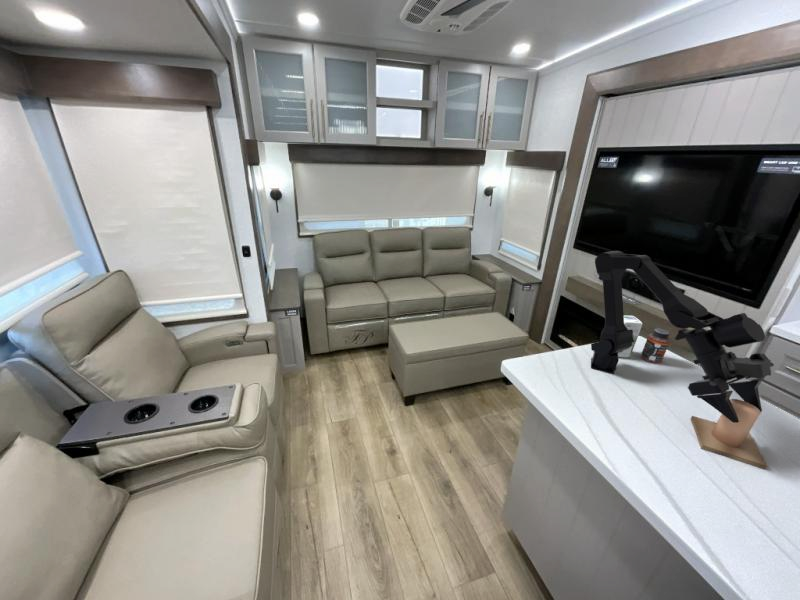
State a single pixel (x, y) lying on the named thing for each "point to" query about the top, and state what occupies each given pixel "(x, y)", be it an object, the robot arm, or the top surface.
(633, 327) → the syrup box
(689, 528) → the top surface
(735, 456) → the walnut serving board
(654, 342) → the supplement bottle
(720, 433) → the peach rounded cylinder
